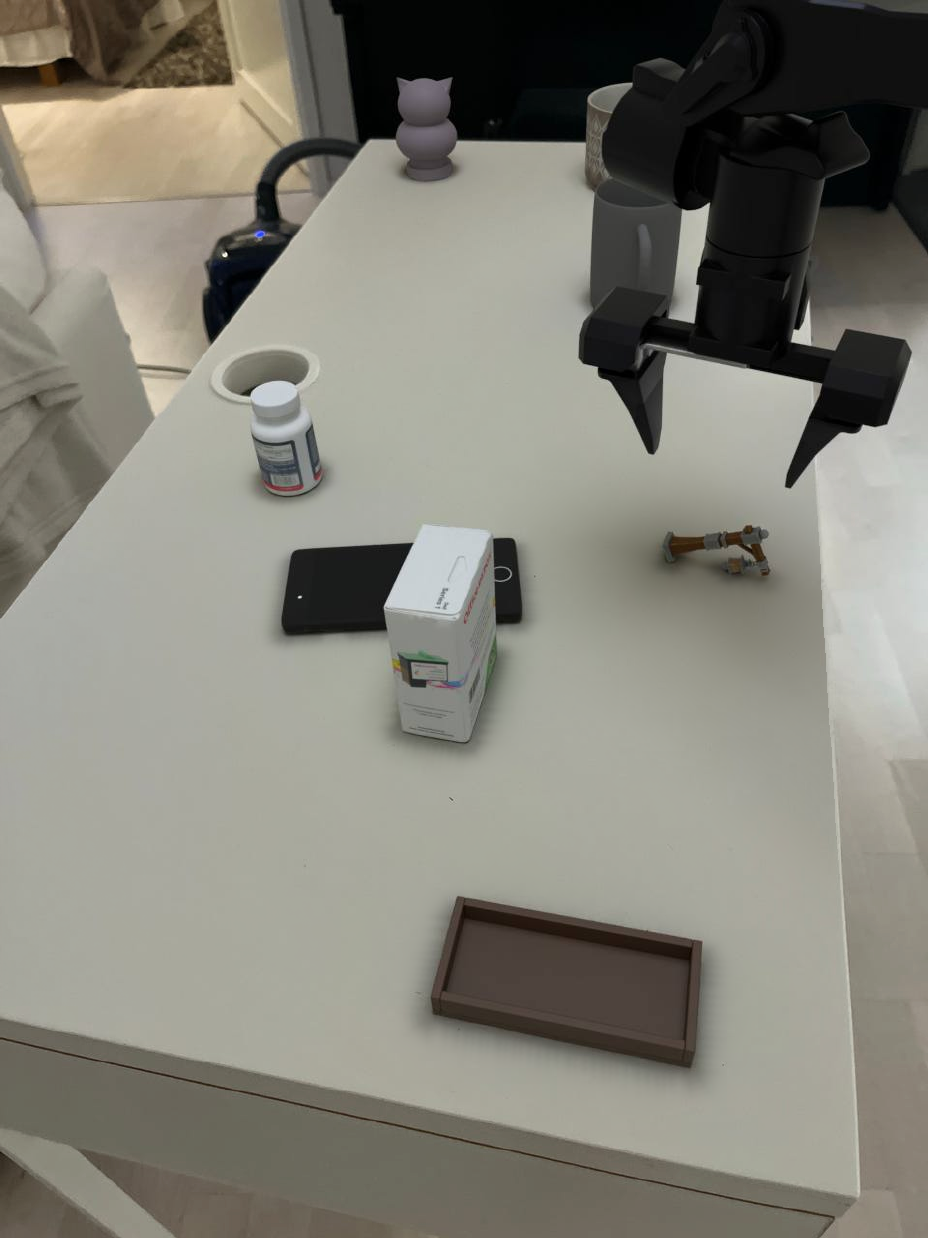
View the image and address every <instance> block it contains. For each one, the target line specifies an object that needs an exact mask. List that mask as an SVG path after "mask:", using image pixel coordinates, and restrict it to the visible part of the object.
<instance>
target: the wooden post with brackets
mask: <svg viewBox="0 0 928 1238" xmlns="http://www.w3.org/2000/svg"><path fill="white" fill-rule="evenodd" d="M769 536H770V533H769V531H768V530H767V529H765V528H761V526H760V525H759V526H753V525H752V524H749V525H744V527H743V528H742V530H739V531H733V532H728V530H726V531H725V530H723V532H721V531H718V532H714V533H706V534H705V535H704V536H676V535H675V533H674V531H670V530H668V531H667V533H666V535H665V537H664V539H663V541H662V543H661V547H662V549H663V552H664V554H665V557H666V559H667V562H668V563H671V562H672V563H673V562H674V561H675V560H676V557H677V556H680V555H683V554H688V553H692V552H695V551H702V550H706V551H705V552H709V551H713V550H722V548H723V549H724V550H727V549H729V547H730V546H731V547H732V546H738V547H740V548H741V549H742V550H744V551H746V552H747V553H748V554H750V555H751V556H752V557H753V558H754V559H755V561H752V560H751V558H749V559H748V560H747V559H746V558H745V557H744V554H741V556H740V557H734V558H733V557H730V556H729V557H728V559H727V561H724V562H723V563H722V564H721V568H722V570H724V571H728V574H729V575H731V574H732V573H739V572H741V574H742V575H744V574H745V571H746V569H749V570H751V568H752V567H755V566H756V567H757V570H759V573H760V574H761V577H768V576H770V573H771V569H770V565H769V560H768V558H767V556H766V555H765V553H764V551H763V548H762V546H761V544H762V542H763V540H766V539H768V538H769ZM748 545H749V546H748Z"/></svg>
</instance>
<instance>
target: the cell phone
mask: <svg viewBox="0 0 928 1238" xmlns="http://www.w3.org/2000/svg"><path fill="white" fill-rule="evenodd" d="M413 544H414V542H403V543H401V542H398V543H384V544H382V543H381V544H365V545H347V546H344V545H343V546H328V547H327V546H326V547H310V548H299V549H298V548H297V549H295V550H293V551H292V553H291V555H290V559H289V566H288V572H287V579H286V585H285V592H284V598H283V603H282V605H283V606H282V610H281V611H282V612H281V619H280V621H281V622H280V623H281V626H282V630H283V632H284V633H286V634H292V633H302V632H320V631H321V632H323V631H340V630H358V629H359V630H360V629H376V628H377V629H379V628H380V629H381V628H387V625H386V619H385V613H384V605H385V603H386V601H387V599H388V596H389V594H390V592H391V590H392V588H393V586H394V583H395V582H396V579H397V577H398V575H399V573H400V571H401V569H402V567H403V564H404V562H405V560H406V558H407V556H408V554H409V552H410V550H411V548H412V546H413ZM493 554H494V583H495V613H496V622H505V621H506V622H507V621H509V622H510V621H511V622H512V621H513V622H514V621H515V622H517V621H520V620H521V619H522V618H523V601H522V591H521V590H522V589H521V583H520V582H521V580H520V569H519V561H518V560H519V559H518V551H517V543H516V540H515V539H514V538H512V537H493Z"/></svg>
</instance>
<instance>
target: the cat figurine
mask: <svg viewBox="0 0 928 1238" xmlns="http://www.w3.org/2000/svg"><path fill="white" fill-rule="evenodd" d="M396 81H397V86H398V91H399V96H398V100H397V108H398V112H399V115H400V116H401V118H402V121H401V123H399V125H398V127H397V131H396V134H395V143H396V146H397V148H398V149H399V151H400V152H401V154H402V155H403V156H404V157H405V158H407V159H409V160H407V161H406V174H407V176H408V177H409V178H410V179H411V180H415V181H420V182H421V181H422V182H432V181H439V180H442V179H445V178H447V177H449V176H450V175H451V174H453V161H452V158H451V157H449V155H451V154H452V152H453V151H454V150H455V148H456V146H457V142H458V131H457V129H456V127H455V125H454V124H453V122H451V121H450V119H449V118H447V117H448V116H449V114H450V110H451V106H452V105H451V102H452V101H451V97H450V91H451V86H452V81H453V76H452V77H448V78H445V79H440V80H434V79H431V78H426V77H425V78H424V77H423V78H416V79H414V80H411V81H410V80H407V79H404V78H400V77H396Z"/></svg>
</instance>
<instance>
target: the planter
mask: <svg viewBox="0 0 928 1238" xmlns="http://www.w3.org/2000/svg"><path fill="white" fill-rule="evenodd" d="M632 84H633V82H623V83H617V84H616V83H615V84H611V85H607V86H603V87H601V88H598V89H596V90H594V91H593V92H591V93H590V94H589V95H588V96H587V99H586V100H587V102H586V103H587V105H586V131H585V155H584V157H585V158H584V159H585V161H584V175H585V178H586V179H587V181H589V182H590V183H591V184H593V185H595V186H596V187H597V186H598V185H599V184H600V183H602V182H603V181H605V180H607V179H610V178H612V177H611V176H610V175H609V173H608V172H607V170H606V168H605V166H604V163H603V159H602V149H601V143H602V135H603V133H604V131H606V128H607V125H608V121H609V119H610V117H611V115H612V112H613V110H614V108H615V107H616V105H617V104H618V102H619V101H620V99H621V98H622V97H623V95H624V94H625V93H626V92H627V91H628V90H629V89H630V88H632Z"/></svg>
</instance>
